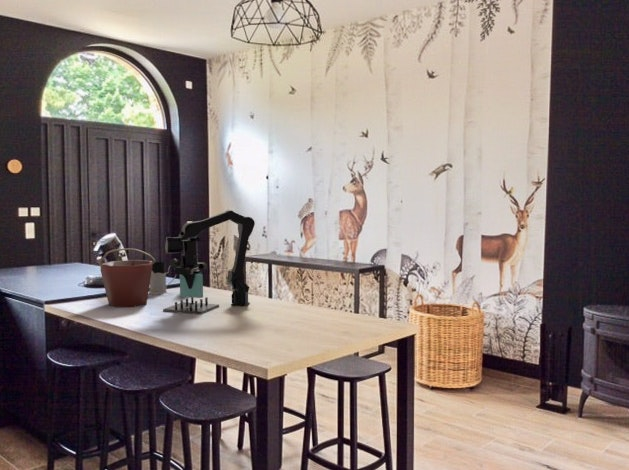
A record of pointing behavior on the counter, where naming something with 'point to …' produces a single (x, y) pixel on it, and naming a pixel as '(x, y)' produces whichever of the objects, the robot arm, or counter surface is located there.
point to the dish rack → (191, 306)
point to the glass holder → (158, 278)
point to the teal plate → (196, 287)
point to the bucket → (126, 280)
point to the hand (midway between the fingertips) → (191, 288)
